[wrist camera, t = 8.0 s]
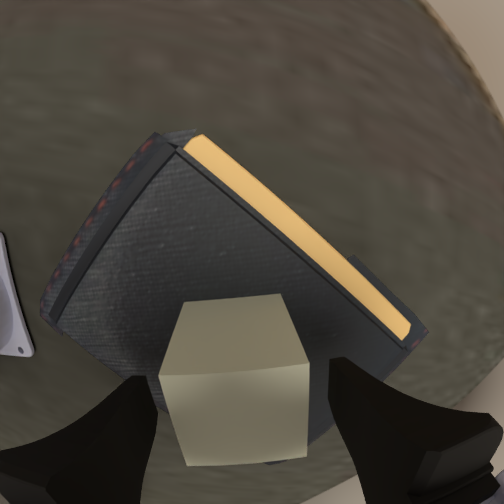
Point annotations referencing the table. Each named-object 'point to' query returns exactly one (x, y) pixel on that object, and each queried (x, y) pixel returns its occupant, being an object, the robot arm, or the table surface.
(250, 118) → the table surface
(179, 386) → the block
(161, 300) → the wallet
